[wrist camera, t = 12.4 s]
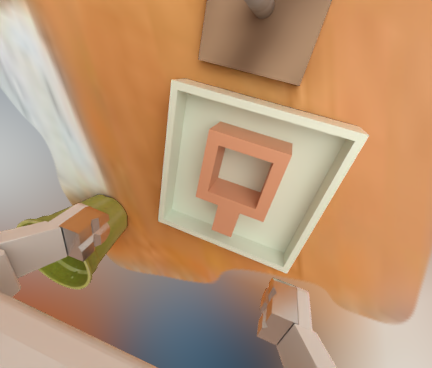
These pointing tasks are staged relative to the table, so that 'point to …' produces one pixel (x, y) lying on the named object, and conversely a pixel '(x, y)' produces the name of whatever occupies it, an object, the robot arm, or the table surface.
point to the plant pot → (82, 271)
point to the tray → (253, 169)
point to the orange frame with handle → (233, 193)
